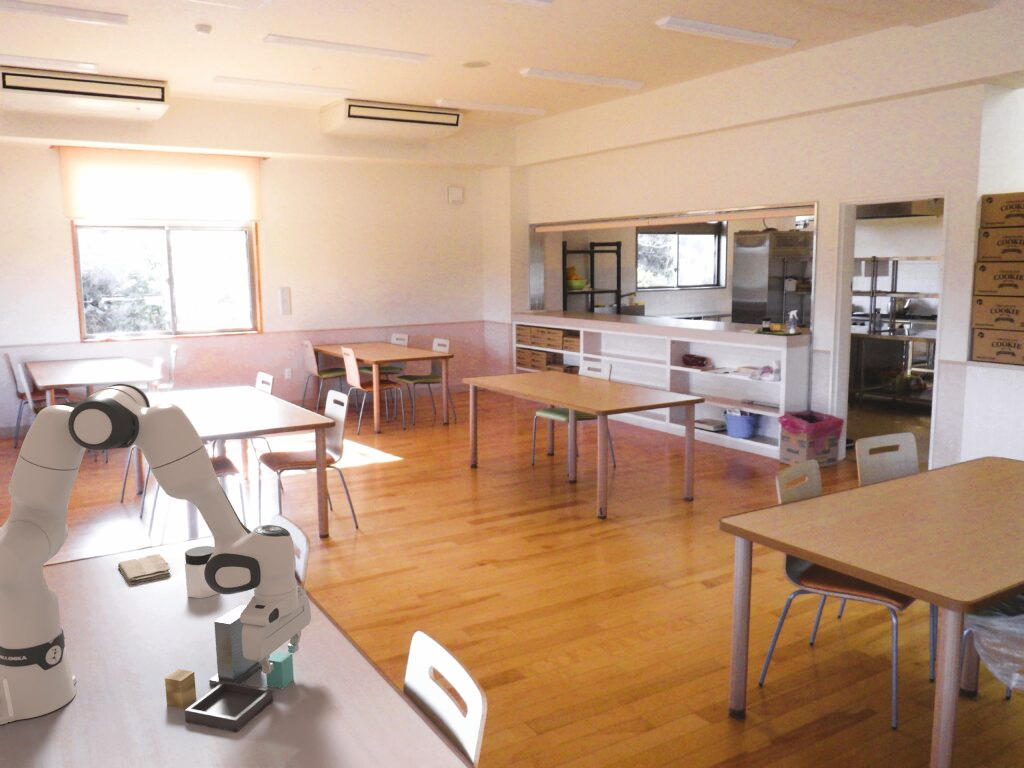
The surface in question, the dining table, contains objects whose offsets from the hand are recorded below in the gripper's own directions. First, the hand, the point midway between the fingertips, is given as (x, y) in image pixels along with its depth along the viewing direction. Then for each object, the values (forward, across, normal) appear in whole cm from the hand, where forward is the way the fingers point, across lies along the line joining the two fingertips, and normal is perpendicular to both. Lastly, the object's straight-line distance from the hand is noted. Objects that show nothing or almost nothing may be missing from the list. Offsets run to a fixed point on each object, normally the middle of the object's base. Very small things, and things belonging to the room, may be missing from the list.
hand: (281, 661), depth 178 cm
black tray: (+5, +13, -3) cm, 14 cm away
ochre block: (+4, +13, -15) cm, 21 cm away
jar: (+5, -36, -50) cm, 61 cm away
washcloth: (+5, -43, -77) cm, 88 cm away
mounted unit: (+5, 0, -11) cm, 12 cm away
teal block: (+5, 0, 0) cm, 5 cm away
